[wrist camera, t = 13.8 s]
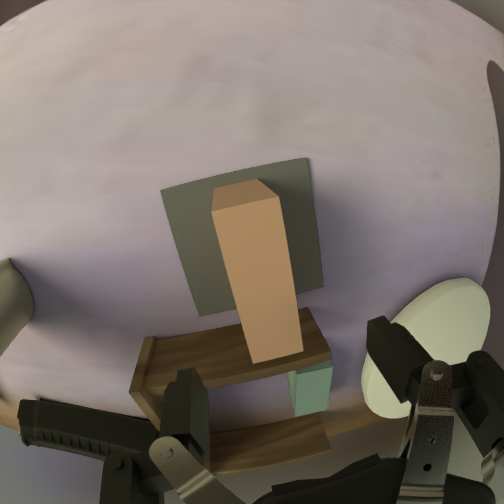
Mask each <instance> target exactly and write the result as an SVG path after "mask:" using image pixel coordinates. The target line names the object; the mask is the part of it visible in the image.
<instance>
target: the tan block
mask: <svg viewBox="0 0 504 504" xmlns="http://www.w3.org/2000/svg"><path fill="white" fill-rule="evenodd" d="M211 213H212V217H213V221H214V225H215V229H216V233H217V236H218V240H219V244H220V248H221V252H222V255H223V259H224V263H225V267H226V270H227V274H228V278H229V281H230V285H231V289H232V292H233V296H234V300H235V303H236V307H237V310H238V314H239V317H240V321H241V324H242V328H243V331H244V335H245V338H246V342H247V345H248V348H249V352H250V355H251V358H252V362H253V364H254V363H258V362H263V361H267V360H271V359H275V358H279V357H283V356H287V355H291V354H295V353H299V352H302V351H303V344H302V337H301V329H300V322H299V315H298V308H297V301H296V295H295V288H294V282H293V275H292V269H291V263H290V257H289V251H288V245H287V239H286V233H285V227H284V222H283V216H282V211H281V205H280V200H279V196H278V195H277V194H275V193H274V192H273V191H272V190H270V189H269V188H268V187H267V186H265V185H264V184H263V183H262V182H261V181H259V180H258V179H252V180H248V181H243V182H239V183H234V184H230V185H226V186H221V187H217V188H214V194H213V202H212V210H211Z"/></svg>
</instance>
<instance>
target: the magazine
mask: <svg viewBox="0 0 504 504" xmlns="http://www.w3.org/2000/svg"><path fill="white" fill-rule="evenodd" d="M17 418H18V419H19V436H21V435H22V442H23V443H24V444H25V445H26V446H29V445H35V446H38V447H40V446H41V447H47V448H52V449H57V450H62V451H66V452H70V453H75V454H79V455H83V456H88V457H91V458H95V459H99V460H102V461H105V459H106V457H107V456H108V455H109V454H111V453H113V452H115V451H123V452H126V453H127V454H128V455H130V456H132V455H135V454H138V453H141V452H144V451H147V450H149V449H150V446H151V445H152V443H153V442H154V441H155V440H157V439H158V438H159V431H158V430H157V428H156V427H155V426H154V425H153V424H152V422H149V421H145V420H141V419H137V418H133V417H129V416H124V415H120V414H115V413H111V412H106V411H101V410H96V409H91V408H86V407H81V406H76V405H69V404H61V403H53V402H46V401H43V400H42V398H40V401H38V400H25V399H23V400H21V401H20V404H19V409H18V415H17Z"/></svg>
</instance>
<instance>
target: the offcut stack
mask: <svg viewBox="0 0 504 504" xmlns="http://www.w3.org/2000/svg"><path fill="white" fill-rule="evenodd" d="M332 372H333V365H332V363H331V361H330V360H329V361H326V362H323V363H319V364H316V365H312V366H309V367H305V368H302V369H298V370H294V371H290V372H287V376H288V382H289V389H290V397H291V401H292V405H293V410H294V413H295V417H297V416H302V415H306V414H311V413H315V412H319V411H324V410H326V409H327V404H328V403H330V397H329V392H330V386H331V379H332Z"/></svg>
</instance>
